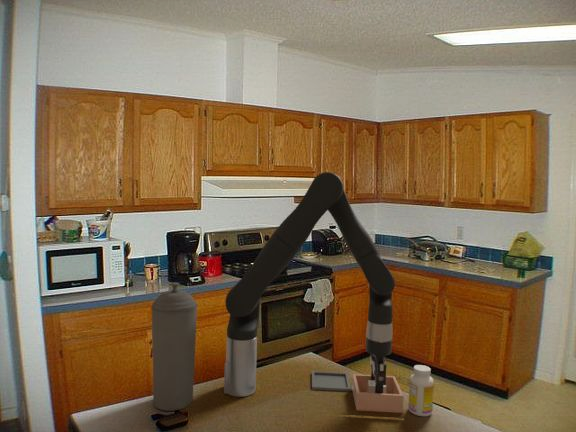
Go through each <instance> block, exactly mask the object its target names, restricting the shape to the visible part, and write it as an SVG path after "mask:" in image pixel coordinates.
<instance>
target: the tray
mask: <svg viewBox="0 0 576 432" xmlns="http://www.w3.org/2000/svg"><path fill="white" fill-rule="evenodd" d="M311 390H314V391H329V392H330V391H331V392H332V391H334V392H348V393H349V392H352V386H351V383H350V377H349V373H348V372H339V371H338V372H337V371H322V370H321V371H320V370H311Z"/></svg>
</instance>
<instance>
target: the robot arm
mask: <svg viewBox="0 0 576 432" xmlns="http://www.w3.org/2000/svg"><path fill="white" fill-rule="evenodd" d="M327 211H328V212H329V214H330V215H331V217H332V218H333V220H334V222H335V223H336V225H337V227H338V229H339V231H340V233H341V236H342V237H343V239H344V241H345V244H346V245H347V247H348V249H349V251H350V252H351V255H352V256H353V258H354V260H355V261H356V264H358V266H359V267H360V269H361V270H362V273H363V275H364V277H365V279H366V281H367V283H368V288H369V290H368V292H369V293H368V294H369V297H368V299H369V303H368V310H367V311H368V313H367V324H366V332H365V333H366V334H365V336H366V337H365V351H366V352H367V353H368V354H370V356H369V357H370V359H369V366H370V371H371V373H370V375H371V380H374V381H375V393H383V385H386V376H387V367H388V366H387V362H386V361H387V360H385V357H386V356H389V355H391V354H392V351H393V349H392V348H393V332H394V331H393V315H394V314H393V312H394V309H393V303H392V299H393V298H392V297H393V291H394V290H395V287H396V281H395V278H394V275H393V273H392V272H391V271H390V269H389V268H388V266H387V264H385V261H383V258H382V257H381V255H380V252H379V250H378V248H377V246H376V245H375V242H374V241H373V240H372V238H371V236H370V234H369V233H368V231H367V230H366V228H365V227H364V225H363V224H362V222H361V221H360V220H359V218H358V216H357V215H356V212H355V211H354V209H353V208H352V206H351V204H350V202H349V199H348V197H347V194H346V192H345V188H344V183H343V181H342V179H341V177H340V176H339V175H337V174H336V173H333V172H331V171H324V172H321V173H318V175H316V176H314V178H313V180H312V181H311V183H310V186H309V188H308V189H307V190H306V192H305V194H304V195H303V197H302V199H301V200H300V201H299V204H298V205H297V206H296V207H295V209H293V211H291V213H290V214H288V215H287V217H286V218H285V219H283V221H282V222H281V223H280V225H278V227H277V228H276V229H275V230H274V232H273V233H272V234H271V236H270V237H269V239H267V241H266V242H265V244H264V246H263V247H262V248H261V250H260V252H259V253H258V255H257V256H256V258H255V260H254V261H253V262H252V264H251V266H250V268H249V269H248V271H247V272H246V273H245V274H244V275H243V277H241V279H240V280H239V281H237V283H236V284H235V285H234V286H233V287H232V288H230V290H228V292H227V294H226V296H225V300H224V301H225V303H224V304H225V308H226V311H227V312H228V314H229V319H228V324H227V327H226V355H225V357H226V358H225V362H224V379H223V387H224V388H223V394H227V395H229V396H231V397H239V398H240V397H241V398H243V397H248V396H252V394H254V393H255V392H256V387H257V383H256V382H257V355H258V354H257V353H258V349H257V348H258V347H257V346H258V328H259V324H260V323H259V321H260V307H261V306H260V304H261V302H260V301H261V297H262V295H263V294H264V292H265V291H266V290H267V288H268V287H269V285H270V284H271V283H272V282H273V281H274V280H275V279H276V278H277V277H279V275H280V274H281V273H282V272H283V271H284V270H285V269H286V268H287V266H289V264H290V263H291V262H292V261H293V259H294V258H295V257H296V256H297V254H298V253H299V252H300V250H301V249H302V247H304V245H305V243H306V242H307V240H308V238H309V237H310V235H311V233H312V231H313V230H314V229H315V226H316V225H317V223H318V222H319V221H320V219H321V218H322V217H323V216H324V215H325V214H326V212H327ZM379 377H382V380H379Z"/></svg>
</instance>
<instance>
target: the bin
mask: <svg viewBox="0 0 576 432" xmlns="http://www.w3.org/2000/svg"><path fill="white" fill-rule="evenodd" d="M351 379H352V381H351V382H352V383H351V392H352V396H353V399H354V400H353V401H354V406H355V410H356V411H361V412H365V411H366V412H381V413H397V414H399V413H400V414H401V413H402V414H403V411H404V394H403V392H402V390H401V387H400V385H399V382H398V381H397V378H396V376H395V375H386V394H383V393H367V382H368V380H371V374H360V373H358V374H355V373H353V374H352V378H351ZM379 380H382V377H379Z"/></svg>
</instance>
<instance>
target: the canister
mask: <svg viewBox="0 0 576 432" xmlns="http://www.w3.org/2000/svg"><path fill="white" fill-rule="evenodd" d="M170 286H172V289H171V290H166V291H163V292H162V293H160V294H159V296H158V297H157V298H156V299H155V301H153V302H152V305H151V307H150V308H151V323H152V325H151V329H152V330H151V331H152V332H151V333H152V334H151V335H152V336H151V338H152V339H151V341H152V389H153V391H152V395H153V396H152V397H153V399H152V400H153V405H154V406H155V408H157V409H159V410H160V411H166V412H175V411H180V410H182V409H185V408H188V407H189V406H190V405H191V404H192V402H193V398H194V397H193V396H194V379H195V361H196V360H195V357H196V336H197V335H196V334H197V314H198V313H197V312H198V304H197V301H196V300H195V299H194V297H192V295H191V294H190V293H189V292H187V291H185V290H181V289H178V287H179V286H180V282H176V281H175V282H171V283H170Z"/></svg>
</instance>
